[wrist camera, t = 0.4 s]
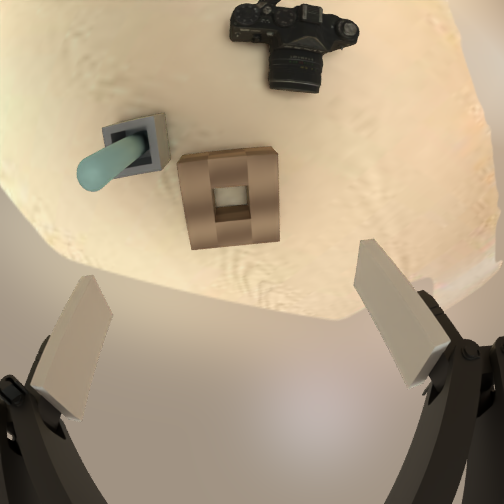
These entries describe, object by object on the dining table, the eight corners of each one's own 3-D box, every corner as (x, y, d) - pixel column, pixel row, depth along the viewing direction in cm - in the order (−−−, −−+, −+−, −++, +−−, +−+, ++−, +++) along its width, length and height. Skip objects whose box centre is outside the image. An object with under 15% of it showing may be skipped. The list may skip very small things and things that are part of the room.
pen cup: (119, 122, 31) (101, 127, 26) (164, 112, 31) (153, 115, 26) (126, 166, 35) (111, 179, 29) (170, 159, 35) (161, 170, 30)
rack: (182, 155, 35) (176, 163, 31) (271, 146, 35) (277, 153, 31) (194, 232, 41) (191, 250, 37) (273, 225, 42) (279, 241, 38)
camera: (224, 86, 31) (224, 82, 22) (230, 15, 25) (233, -11, 17) (327, 98, 32) (360, 101, 24) (333, 30, 27) (367, 15, 18)
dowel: (131, 132, 31) (73, 161, 18) (151, 128, 32) (103, 152, 18) (134, 153, 33) (81, 194, 19) (155, 149, 33) (111, 188, 20)
